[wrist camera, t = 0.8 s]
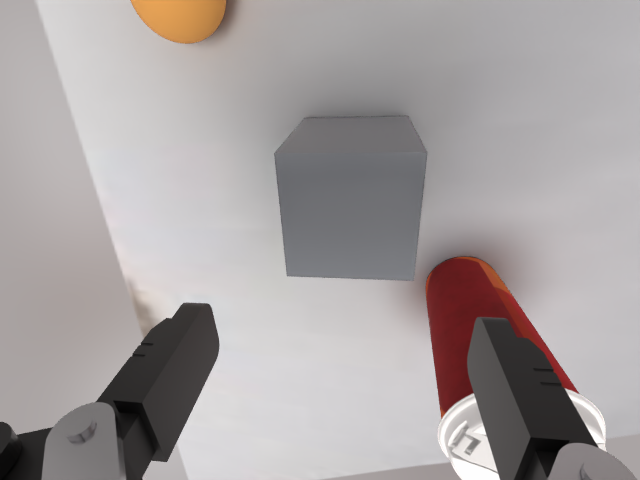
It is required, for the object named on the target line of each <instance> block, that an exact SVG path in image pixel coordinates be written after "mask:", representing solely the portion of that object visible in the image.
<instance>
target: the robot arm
mask: <svg viewBox="0 0 640 480" xmlns="http://www.w3.org/2000/svg"><path fill="white" fill-rule="evenodd" d="M218 352H219V337H218V333H217V329H216V325H215V320H214V316H213V312H212V308H211V306H210V305H209V304H206V303H183V304H182V305H181V306H180V308H179V309H178V310H177V312H176V313H175V315H174V316H173V317H172V318H166V319H165V320H163V321H162V322H160V323H159V324H158V325H156V326H155V327H154V328H152V329H151V330H150V332H149V333H148V334H147V336H146V337H145V338H144V340H143V341H142V342H141V345H140V346H138V347H137V349H136V350H135V351H134V353H133V355H132V357H130V358H129V359H128V360H127V362H126V363H125V364H124V366H123V367H122V368H121V370H120V371H119V372H118V374H117V375H116V376H115V377H114V379H113V380H112V382H111V383H110V384H109V385H108V387H107V388H106V389H105V391H104V392H103V393H102V395H101V396H100V397H99V398H98V400H97V401H96V402H94V403H89V404H86V405H83V406H80V407H78V408H76V409H74V410H73V411H71V412H69V413H68V414H67V415H65V416H64V417H63V418H61V419H60V420H59V421H58V422H57V424H55V426H54V427H52V428H47V429H42V430H38V431H33V432H29V433H24V434H19V435H16V434H15V432H14V431H13V430H12V428H11V427H10V426H9V425H8V424H7V423H4V422H0V480H146V476H145V471H146V469H147V468H148V465H149V463H150V462H151V460H152V461H161V462H167V461H168V459H169V457H170V455H171V453H172V450H173V448H174V446H175V444H176V442H177V440H178V438H179V436H180V434H181V432H182V430H183V428H184V426H185V424H186V422H187V419H188V417H189V415H190V413H191V411H192V409H193V407H194V405H195V403H196V401H197V399H198V397H199V395H200V393H201V390H202V388H203V386H204V384H205V382H206V380H207V378H208V376H209V374H210V372H211V370H212V368H213V366H214V364H215V362H216V359H217V356H218ZM467 368H468V375H469V379H470V382H471V386H472V389H473V392H474V395H475V399H476V402H477V405H478V409H479V412H480V415H481V419H482V422H483V425H484V428H485V432H486V435H487V438H488V442H489V445H490V448H491V451H492V455H493V458H494V461H495V465H496V468H497V471H498V475H499V478H500V480H637V479H636V477H635V476H634V475H633V473H632V472H631V471H630V470H629V469H628V468H627V467H626V466H625V465H624V464H623V463H622V462H620V461H619V460H618V459H617V458H615V457H614V456H612V455H611V454H609V453H608V452H606V451H604V450H602V449H600V448H599V447H598V445H597V444H596V442H595V441H594V439H593V437H592V435H591V434H590V432H589V430H588V428H587V427H586V425H585V423H584V421H583V420H582V418H581V416H580V414H579V413H578V411H577V409H576V407H575V406H574V404H573V402H572V400H571V399H570V397H569V395H568V394H567V392H566V390H565V388H564V387H562V383H561V381H560V380H559V378H558V376H557V374H556V373H554V369H553V367H552V366H551V364H550V362H549V360H548V359H547V357H546V355H545V353H544V352H543V351H542V350H541V349H540V348H538V347H537V346H536V345H535V344H534V343H533V342H532V341H531V340H530V339H529V338H520V337H517V336H516V334H515V332H514V330H513V328H512V326H511V324H510V322H509V321H508V319H506V318H492V317H477V318H476V320H475V324H474V329H473V333H472V338H471V342H470V347H469V351H468V357H467Z"/></svg>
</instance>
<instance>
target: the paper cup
mask: <svg viewBox="0 0 640 480" xmlns="http://www.w3.org/2000/svg"><path fill="white" fill-rule="evenodd" d="M426 300H427V309H428V318H429V326H430V334H431V342H432V350H433V357H434V365H435V373H436V380H437V388H438V396H439V404H440V411H441V421H440V423H439V427H438V441H439V444H440V447H441V448H442V450H443V452H444V453H445V455H446V456H447V457H448V458H449V459H450V461H451V464H452V466H453V468H454V470H455V471H456V473H457V474H458V475H459V477H460V478H461V479H462V480H500V478H499V475H498V471H497V468H496V465H495V461H494V458H493V455H492V451H491V448H490V445H489V442H488V438H487V435H486V432H485V428H484V425H483V422H482V419H481V415H480V412H479V409H478V405H477V402H476V399H475V395H474V392H473V389H472V386H471V382H470V379H469V375H468V368H467V357H468V351H469V347H470V342H471V338H472V333H473V329H474V324H475V320H476V318H477V317H492V318H506V319H508V321H509V322H510V324H511V326H512V328H513V330H514V332H515V334H516V336H517V337H520V338H529V339H530V340H531V341H532V342H533V343H534V344H535V345H536V346H537V347H538V348H540V349H541V350H542V351H543V352H544V353H545V355H546V357H547V359H548V360H549V362H550V364H551V366H552V367H553V369H554V373H556V374H557V376H558V378H559V380H560V381H561V383H562V387H564V388H565V390H566V392H567V394H568V395H569V397H570V399H571V400H572V402H573V404H574V406H575V407H576V409H577V411H578V413H579V414H580V416H581V418H582V420H583V421H584V423H585V425H586V427H587V428H588V430H589V432H590V434H591V435H592V437H593V439H594V441H595V442H596V444H597V445H598V447H599V448H600V449H602V450H604V451H606V448H605V422H604V418H603V416H602V414H601V413H600V411H599V409H598V408H597V407H596V406H595V405H594V404H593V403H592V402H591V401H590V400H588V399H587V398H585V397H584V396H582V395H580V394H579V392H578V391H577V390H576V388H575V387H574V385H573V384H572V382H571V381H570V379H569V378H568V376H567V375H566V373H565V372H564V370H563V369H562V368H561V366H560V365H559V363H558V362H557V360H556V359H555V357H554V356H553V354H552V353H551V351H550V350H549V348H548V347H547V345H546V344H545V343H544V341H543V340H542V338H541V337H540V335H539V334H538V332H537V331H536V329H535V328H534V326H533V325H532V323H531V322H530V321H529V319H528V318H527V316H526V315H525V313H524V312H523V310H522V309H521V307H520V306H519V304H518V303H517V302H516V300H515V299H514V297H513V296H512V294H511V293H510V291H509V290H508V289H507V287H506V286H505V284H504V283H503V281H502V280H501V279H500V277H499V276H498V275H497V273H496V272H495V271H494V270H493V268H492V267H491V266H490V265H488V264H487V263H486V262H484V261H482V260H480V259H477V258H473V257H456V258H452V259H449V260H446V261H444V262H442V263H441V264H439V265H438V266H437V267H435V268H434V269H433V270H432V272H431V273H430V275H429V276H428V279H427V282H426Z"/></svg>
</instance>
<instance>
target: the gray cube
mask: <svg viewBox="0 0 640 480" xmlns="http://www.w3.org/2000/svg"><path fill="white" fill-rule="evenodd" d="M274 155H275V165H276V174H277V184H278V194H279V204H280V213H281V223H282V233H283V243H284V252H285V262H286V272H287V276H296V277H323V278H351V279H378V280H405V281H414V273H415V264H416V254H417V245H418V235H419V226H420V216H421V207H422V197H423V188H424V179H425V169H426V160H427V151H426V149H425V147H424V145H423V143H422V141H421V139H420V138H419V136H418V134H417V132H416V130H415V128H414V126H413V124H412V122H411V121H410V119H409V117H408V116H378V117H327V118H304V119H303V120H302V122H301V123H300V124H299V125H298V126H297V127H296V129H295V130H294V131H293V132H292V133H291V135H290V136H289V137H288V138H287V139H286V140H285V142H284V143H283V144H282V145H281V146H280V147H279V149H278V150H277V151H276V152H275V153H274Z"/></svg>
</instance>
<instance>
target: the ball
mask: <svg viewBox="0 0 640 480" xmlns="http://www.w3.org/2000/svg"><path fill="white" fill-rule="evenodd" d="M130 1H131V3H132V5H133V7H134V9H135V10H136V12H137V14H138V15H139V16H140V18H141V19H142V20H143V22H144V23H145V24H146V25H147V26H148V27H149V28H151V29H152V30H153V31H154V32H155V33H157V34H158V35H160V36H162V37H164V38H165V39H168V40H170V41H173V42H177V43H185V44H188V43H195V42H199V41H202V40H204V39H206V38H207V37H209V36H210V35H211V34H212V33H214V32H215V30H216V29H217V28H218V26H219V25H220V23H221V21H222V18H223V16H224V12H225V7H226V0H130Z"/></svg>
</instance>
